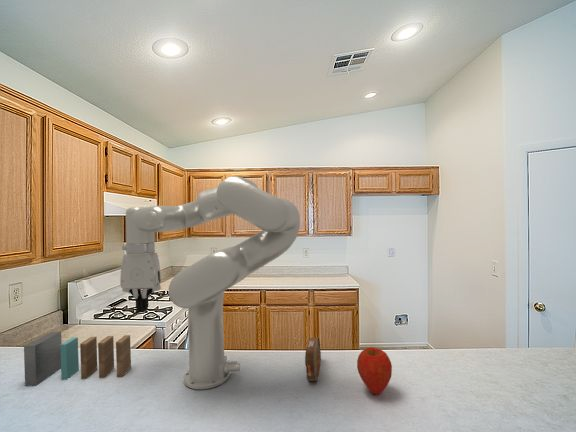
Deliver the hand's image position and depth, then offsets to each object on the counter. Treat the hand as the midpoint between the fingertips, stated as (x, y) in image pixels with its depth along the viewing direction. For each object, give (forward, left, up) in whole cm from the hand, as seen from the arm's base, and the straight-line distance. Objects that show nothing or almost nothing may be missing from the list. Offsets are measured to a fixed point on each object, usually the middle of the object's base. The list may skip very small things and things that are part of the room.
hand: (142, 310), depth 89 cm
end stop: (+29, 0, -18) cm, 34 cm away
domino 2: (+16, 0, -18) cm, 24 cm away
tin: (-50, +5, -18) cm, 53 cm away
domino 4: (+6, 0, -18) cm, 19 cm away
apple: (-64, +16, -18) cm, 68 cm away
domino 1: (+21, 0, -18) cm, 28 cm away
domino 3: (+11, 0, -18) cm, 21 cm away
